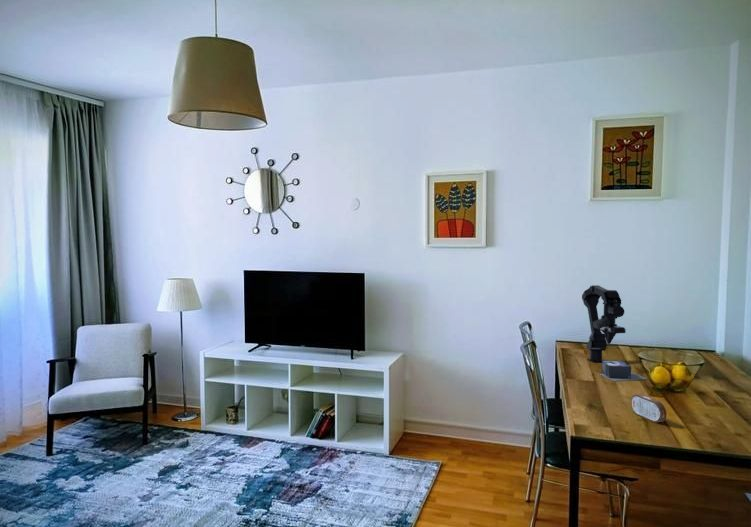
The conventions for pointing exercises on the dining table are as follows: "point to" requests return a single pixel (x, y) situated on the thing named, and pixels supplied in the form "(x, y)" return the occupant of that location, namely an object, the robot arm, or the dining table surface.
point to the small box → (616, 369)
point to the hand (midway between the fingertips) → (608, 343)
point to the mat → (633, 377)
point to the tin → (648, 408)
